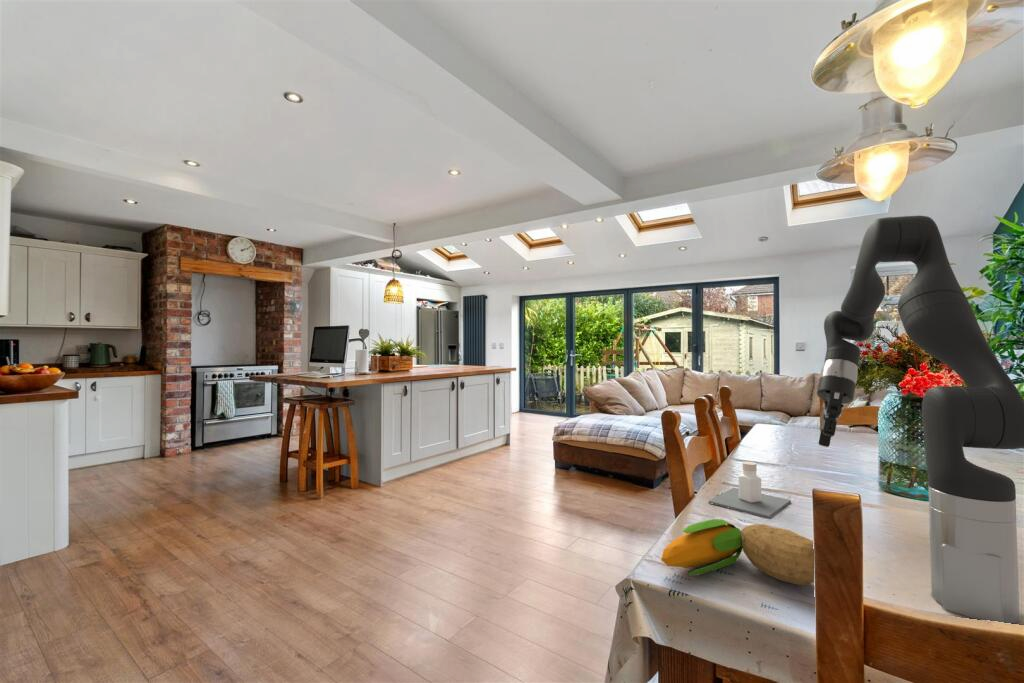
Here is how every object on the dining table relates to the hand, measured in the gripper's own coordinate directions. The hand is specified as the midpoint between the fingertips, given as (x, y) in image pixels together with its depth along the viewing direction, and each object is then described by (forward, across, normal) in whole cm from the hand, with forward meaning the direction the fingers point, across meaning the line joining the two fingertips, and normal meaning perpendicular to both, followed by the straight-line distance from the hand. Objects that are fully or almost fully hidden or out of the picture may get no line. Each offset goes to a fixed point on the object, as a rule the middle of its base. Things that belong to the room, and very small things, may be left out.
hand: (825, 440), depth 106 cm
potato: (+36, +28, -4) cm, 46 cm away
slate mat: (+19, -7, -12) cm, 24 cm away
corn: (+40, +30, -16) cm, 52 cm away
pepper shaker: (+19, -7, -12) cm, 23 cm away
